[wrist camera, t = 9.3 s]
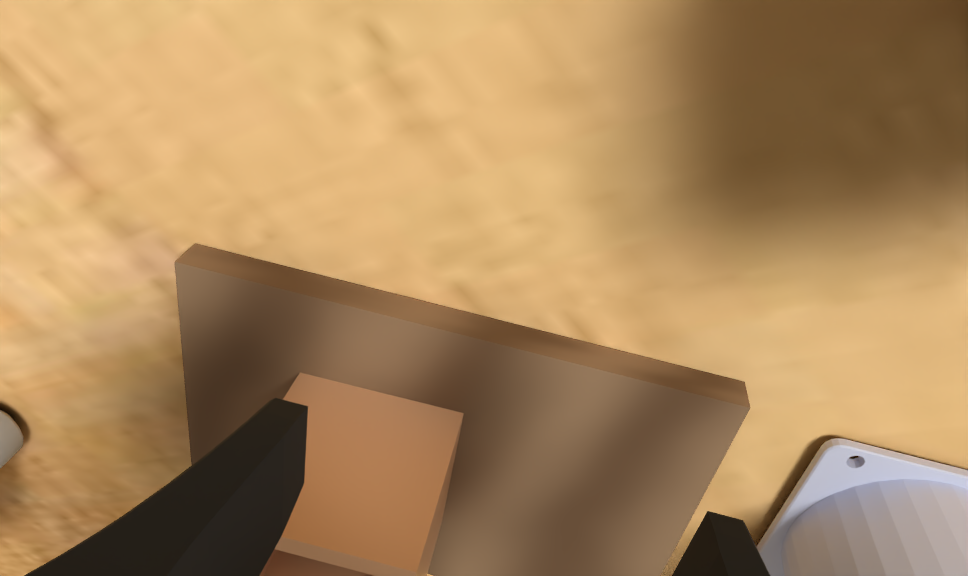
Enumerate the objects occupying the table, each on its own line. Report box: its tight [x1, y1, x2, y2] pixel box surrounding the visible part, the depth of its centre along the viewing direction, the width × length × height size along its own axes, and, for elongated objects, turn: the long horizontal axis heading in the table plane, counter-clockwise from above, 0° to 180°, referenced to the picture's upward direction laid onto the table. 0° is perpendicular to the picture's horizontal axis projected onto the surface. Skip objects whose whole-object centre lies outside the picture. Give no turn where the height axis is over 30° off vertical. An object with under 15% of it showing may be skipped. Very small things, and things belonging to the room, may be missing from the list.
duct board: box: [175, 244, 750, 576], centre depth 23 cm, size 18×12×5 cm, turn 80°
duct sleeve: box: [259, 373, 464, 576], centre depth 22 cm, size 6×6×6 cm
